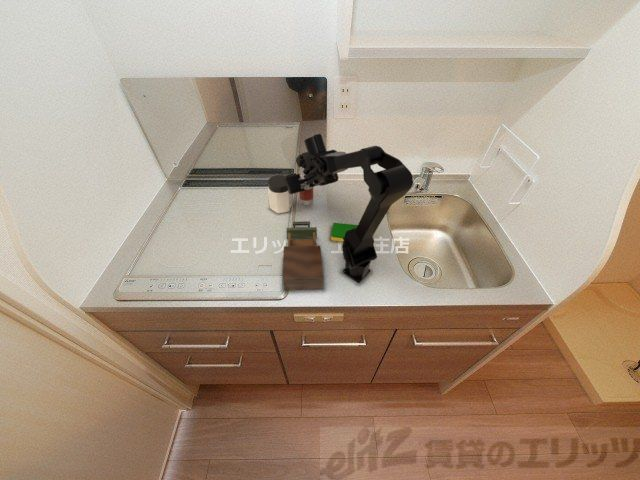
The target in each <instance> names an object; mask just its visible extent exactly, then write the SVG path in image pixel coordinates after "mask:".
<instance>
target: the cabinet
mask: <svg viewBox="0 0 640 480" xmlns="http://www.w3.org/2000/svg"><path fill="white" fill-rule="evenodd" d="M282 285H283V291H284V292H289V291H290V292H293V291H316V290H317V291H319V290H320V291H321V290H322V291H323V289H324V288H323V287H324V268H323V259H322V248H321V245H316V246H288V245H285V246H284V245H283V263H282Z"/></svg>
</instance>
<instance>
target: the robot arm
mask: <svg viewBox="0 0 640 480" xmlns="http://www.w3.org/2000/svg"><path fill="white" fill-rule="evenodd" d="M303 142H304V145H305V148H306V152H305V151H304V152H302V153H301V154H298V155H297V157H296V158H295V162H296V164H297V167H298V168H302V169H303V170H302V172H303V175H304V178H305V179H301V177H300V176H301V174H300V173H296V172H294V173H290V174H287V175H285V176H286V177H285V178H284V180H285V183H286V186H287V189H288V192H289V194H292V195H294V194H299V192H302V191H305V189H304V188H305V186H307V185H309V187H310V188H311V187H313V188H315V187H318V186H320V187H323V186H326V185H330V184H331V185H332V184H334V183H337V182H338V181H339V175H338V174H340V173H342V172H345V171H347V170H349V169H352V168H353V169H354V168H361V169H362V173H363V175H362V177H363V181H364V183H365V184H366V185H367V187H368V192H369V195H370V199H369V201H368V203H367V205H366V208H365V209H364V211H363V213H362V216H361V218H360V220H359V222H358V224H357V225H358V226H357V227H356V228H354V229H351V230H348V231H347V232H346V233H345V237H344V238H343V240H344V241H343V242H342V246H341V247H342V248H341V249H342V257H343V260H344V263H345V264H344V267H345V268H344V269H343V270H342V273H343V274H344V275H346V276H347V277H348V278H350V279H352V281H355V282H356V283H358V284H360V283H361V282H362V281H363V280H364V279H365V278H366V277H367V276H368V275H369V274H370V272H371V269H370V267H371V262H373V261H375V260H376V259H377V258H378V254H377V251H376V248H375V239H374V237H373V236H374V235H375V233H376V231H377V230H378V228H379V226H380V224H382V222H383V219H384V218H385V216H386V214H387V213H388V211H389V210H390V209H391V206H392V205H393V204H394V203H396V202H397V201H399V200H400V199H402V198H403V197H404V196H405V195H406V194H407V193H408V192H410V190H411V189H412V188H413V185H414V180H413V178H414V177H413V174H412V172H411V170H410V169H409V168H408V167H407V166H406V165H405V164H404V163H403V162H402V161H401V160H400V159H399V158H397V157H395V156H394V155H392V154H389V153H387V152H386V151H385V150H384V149H383V148H382V146H379V145H371V146H368V147H367V146H366V147H363V148H360V149H359V150H357V151H352V152H348V153H347V152H346V151H337V150H336V149H330V150H327V148H326V144H325V141H324V137H323V135H322V134H321V133H316V134H314V135H313V136H309V137H308V138H305V139H304V141H303ZM374 165H378V166H379V167H380V168H382V170H378V171H374V170H373V169H372V166H374ZM305 182H307V183H305Z"/></svg>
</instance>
